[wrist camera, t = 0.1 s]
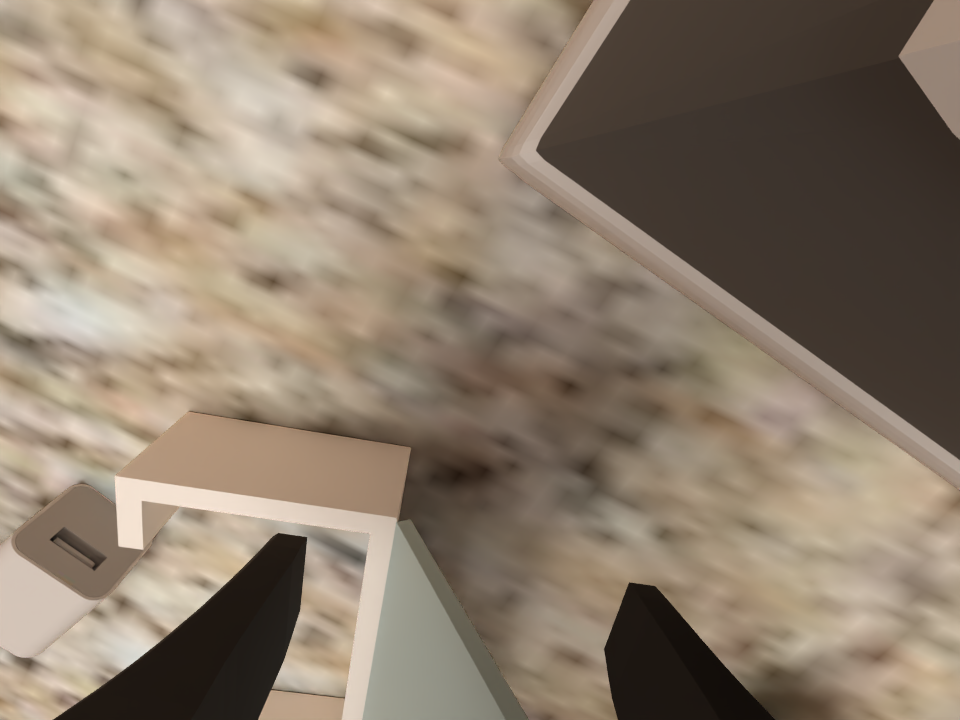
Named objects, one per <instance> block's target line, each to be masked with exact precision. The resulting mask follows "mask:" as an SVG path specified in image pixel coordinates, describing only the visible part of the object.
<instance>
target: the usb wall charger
mask: <svg viewBox="0 0 960 720" xmlns="http://www.w3.org/2000/svg"><path fill="white" fill-rule="evenodd" d="M152 542H153V539H152V540H151V541H150V542H149V544H148V545H147V546H146V547H145V548H144V549H143V550H141V549H134V548H126V547H119V546H118V529H117V511H116V504H114V503H113V502H112V501H110V500H109V499H108V498H106V497H105V496H104V495H102V494H101V493H100V492H98V491H97V490H95V489H94V488H93V487H91V486H90V485H86V484H77V485H73V486H71V487H69V488H68V489H67V490H65V491H64V492H63V493H62V494H60V495H59V496H58V497H57V498H55V499H54V500H53V501H52V502H50V503H49V504H48V505H47V506H45V507H44V508H43V509H42V510H40V511H39V512H38V513H37V514H35V515H34V516H33V517H32V518H31V519H29V520H28V521H27V522H26V523H24V524H23V525H22V526H21V527H19V528H18V529H17V530H16V531H15V532H14V533H13V534H12V535H11V536H10V537H9V538H7V539H6V540H5V541H4V542H3V543H2V544H1V545H0V646H1V647H2V648H4V649H6V650H7V651H9V652H11V653H12V654H14V655H16V656H18V657H23V658H28V657H33V656H36V655H38V654H40V653H42V652H43V651H44V650H45V649H47V648H48V647H49V646H50V645H51V644H52V643H54V642H55V641H56V640H57V639H58V638H60V637H61V636H62V635H63V634H64V633H65V632H67V631H68V630H69V629H70V628H71V627H72V626H74V625H75V624H76V623H77V622H78V621H80V620H81V619H82V618H83V617H84V616H85V615H87V614H88V613H89V612H90V611H91V610H93V609H94V608H95V607H96V606H97V605H98V604H100V603H101V602H102V601H103V600H104V599H105V598H107V597H108V596H109V595H110V594H111V593H112V592H113V591H114V590H115V588H116V587H117V586H118V585H119V584H120V582H121V581H122V580H123V579H124V578H125V576H126V575H127V574H128V573H129V572H130V570H131V569H132V568H133V567H134V566H135V564H136V563H137V562H138V561H139V560H140V558H141V557H142V556H143V555H144V554H145V553H146V551H147V550H148V549H149V548H150V546H151V545H152Z"/></svg>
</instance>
